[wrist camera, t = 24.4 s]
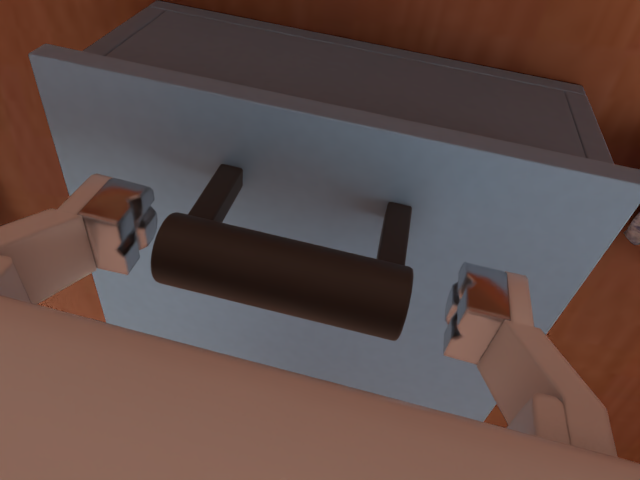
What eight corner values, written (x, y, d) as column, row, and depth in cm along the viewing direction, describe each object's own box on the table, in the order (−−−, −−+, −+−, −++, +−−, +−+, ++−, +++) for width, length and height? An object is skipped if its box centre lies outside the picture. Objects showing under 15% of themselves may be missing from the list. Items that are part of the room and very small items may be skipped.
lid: (44, 42, 14) (-106, 131, 10) (644, 169, 13) (718, 323, 9) (123, 340, 24) (60, 440, 20) (466, 429, 23) (467, 553, 19)
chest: (156, -1, 20) (52, 69, 15) (583, 84, 18) (627, 194, 13) (182, 245, 29) (124, 339, 24) (466, 314, 28) (466, 427, 23)
